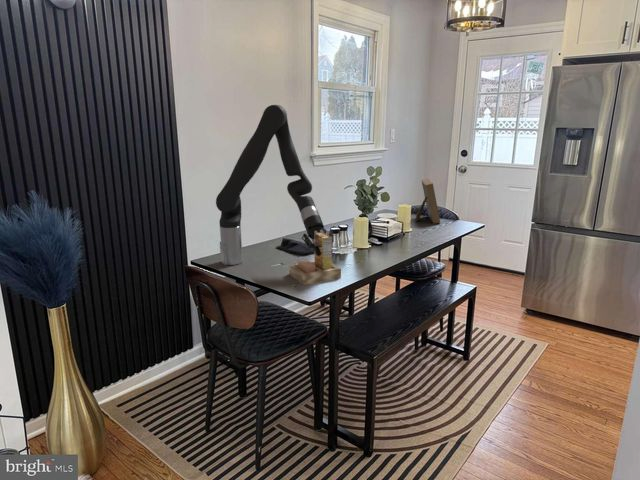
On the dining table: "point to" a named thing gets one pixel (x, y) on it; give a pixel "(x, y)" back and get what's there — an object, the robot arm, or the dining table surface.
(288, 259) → the dining table surface
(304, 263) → the reddish brown block
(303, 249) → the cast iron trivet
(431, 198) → the photo frame
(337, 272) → the wooden compartment tray
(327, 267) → the candy box
